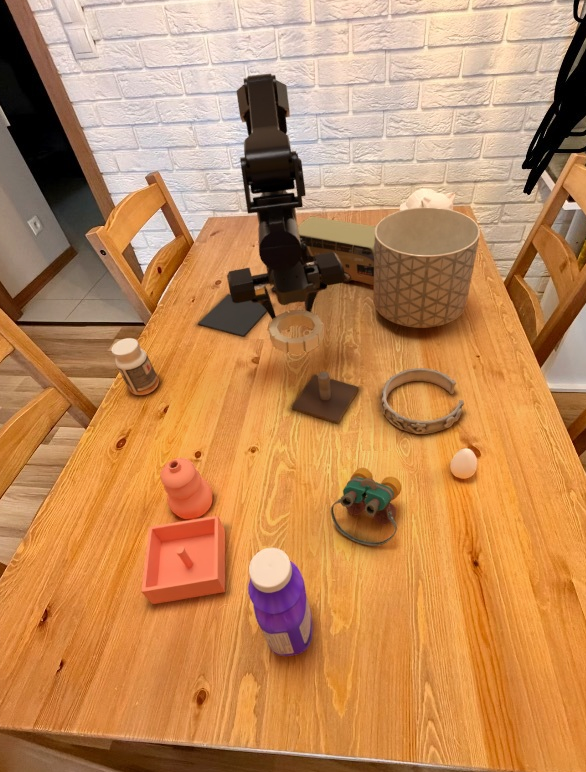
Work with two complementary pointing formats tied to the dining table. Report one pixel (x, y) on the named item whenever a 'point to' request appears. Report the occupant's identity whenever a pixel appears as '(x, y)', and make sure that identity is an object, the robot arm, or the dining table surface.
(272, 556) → the bottle
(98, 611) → the dining table surface
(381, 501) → the binoculars
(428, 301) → the planter
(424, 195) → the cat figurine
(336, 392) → the stand
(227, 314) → the rubber mat
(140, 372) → the pill bottle
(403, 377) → the bracelet
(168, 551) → the pottery
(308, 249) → the toy bus
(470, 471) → the egg
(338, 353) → the dining table surface
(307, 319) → the beige segmented ring
